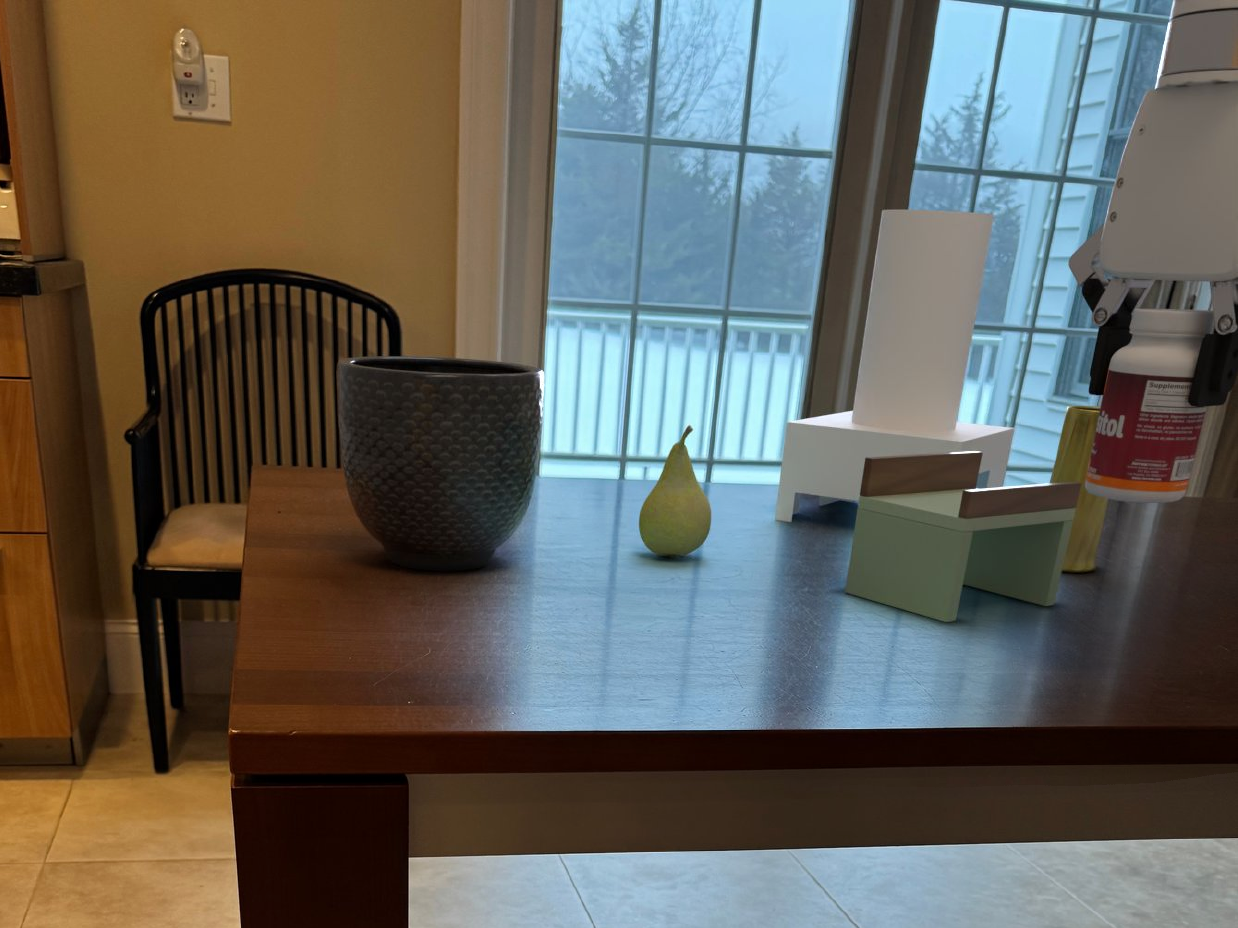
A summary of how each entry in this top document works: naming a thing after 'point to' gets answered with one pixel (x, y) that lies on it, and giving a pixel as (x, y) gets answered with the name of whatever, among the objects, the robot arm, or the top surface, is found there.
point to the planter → (439, 454)
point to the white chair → (904, 364)
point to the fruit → (675, 507)
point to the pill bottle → (1150, 410)
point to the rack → (955, 534)
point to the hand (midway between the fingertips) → (1155, 396)
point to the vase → (1074, 468)
